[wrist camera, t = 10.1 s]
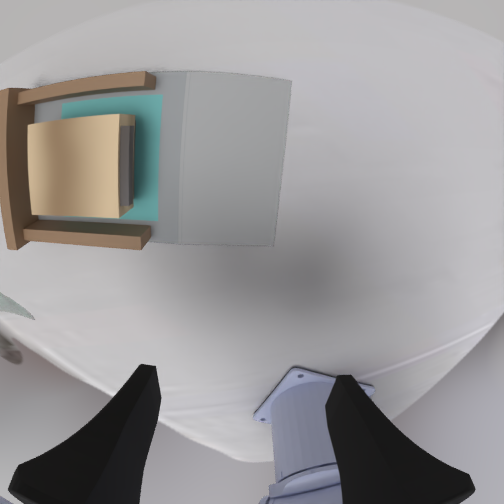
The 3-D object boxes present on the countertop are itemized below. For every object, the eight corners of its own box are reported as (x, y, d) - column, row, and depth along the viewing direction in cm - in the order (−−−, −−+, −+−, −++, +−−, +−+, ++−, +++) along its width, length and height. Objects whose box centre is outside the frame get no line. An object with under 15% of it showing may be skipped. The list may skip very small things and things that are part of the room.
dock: (289, 82, 16) (304, 68, 12) (272, 241, 20) (279, 273, 16) (39, 92, 15) (-1, 91, 11) (42, 226, 19) (7, 249, 15)
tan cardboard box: (150, 115, 15) (129, 113, 12) (148, 201, 17) (128, 218, 14) (59, 122, 15) (27, 124, 12) (61, 199, 17) (31, 214, 14)
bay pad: (163, 94, 15) (162, 94, 15) (158, 220, 18) (158, 221, 18) (63, 103, 14) (62, 103, 14) (64, 216, 17) (64, 216, 17)
